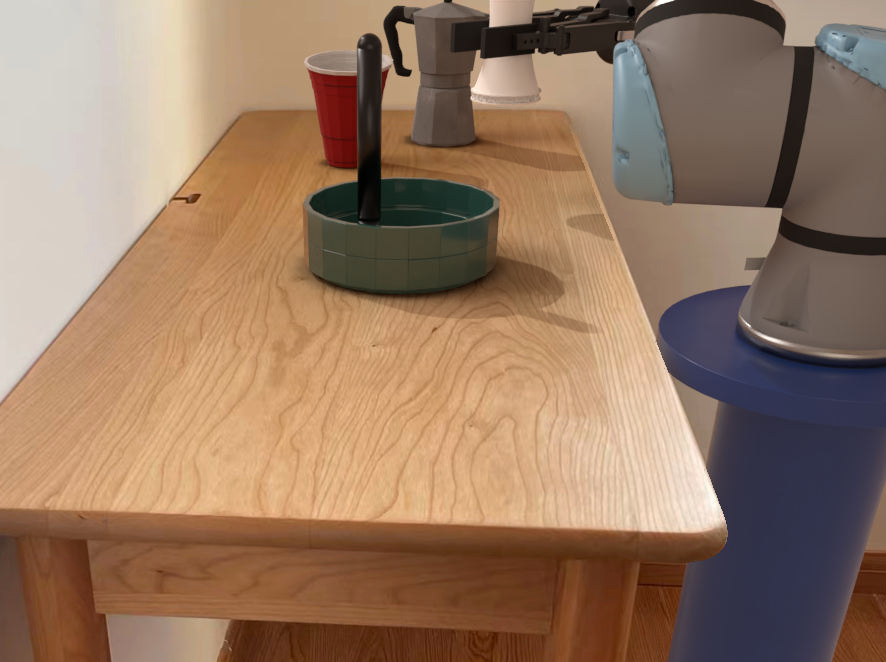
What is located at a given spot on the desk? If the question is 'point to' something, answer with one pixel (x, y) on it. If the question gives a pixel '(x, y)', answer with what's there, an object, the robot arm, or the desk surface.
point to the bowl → (402, 236)
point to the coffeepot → (437, 72)
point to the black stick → (369, 128)
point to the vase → (508, 62)
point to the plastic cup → (338, 102)
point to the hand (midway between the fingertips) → (468, 40)
